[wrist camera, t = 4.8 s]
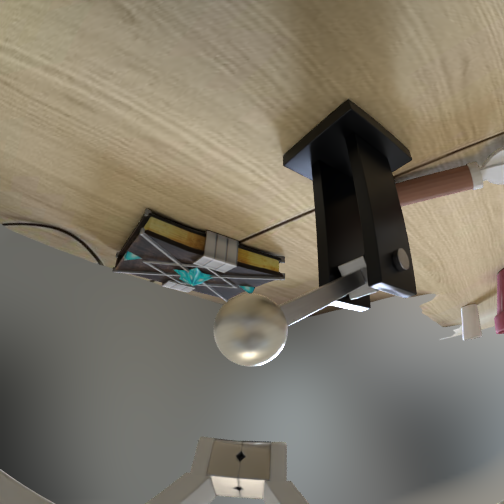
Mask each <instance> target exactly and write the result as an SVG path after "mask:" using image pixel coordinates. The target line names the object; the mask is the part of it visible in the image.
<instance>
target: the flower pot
mask: <svg viewBox="0 0 504 504" xmlns="http://www.w3.org/2000/svg"><path fill="white" fill-rule="evenodd" d="M497 281H498V284H497V315H496V316H495V318H494V320H495V328H496V333H497V334H503V333H504V269H503V270H501V271H500V272H499V273H498V275H497Z"/></svg>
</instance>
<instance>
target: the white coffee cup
mask: <svg viewBox="0 0 504 504" xmlns="http://www.w3.org/2000/svg"><path fill="white" fill-rule="evenodd" d="M461 316H462V332H463V341H464V340H470V339H475V338H478V337H481V336H482V333H481V326H480V319H479V313H478V308H477V304H470V305H467V306H464V307H462V308H461Z"/></svg>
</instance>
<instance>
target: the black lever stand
mask: <svg viewBox="0 0 504 504" xmlns="http://www.w3.org/2000/svg"><path fill="white" fill-rule="evenodd" d="M411 160H412V158H411V155H410V152H409V150H408V149H407V148H406V147H405V146H404V145H403V144H402V143H400V142H399V141H398V140H397V139H396V138H395V137H394V136H393V135H392V134H390V133H389V132H388V131H387V130H386V129H385V128H383V127H382V126H381V125H380V124H379V123H378V122H376V121H375V120H374V119H373V118H371V117H370V116H369V115H368V114H366V113H365V112H364V111H363V110H361V109H360V108H359V107H358V106H356V105H355V104H354V103H352V102H351V101H350V100H347V101H346V102H344V103H343V104H342V105H341V106H340V107H339V108H337V109H336V110H335V111H334V112H333V113H331V114H330V115H329V116H328V117H327V118H326V119H324V120H323V121H322V122H321V123H320V124H319V125H317V126H316V127H315V128H314V129H313V130H312V131H311V132H309V133H308V134H307V135H306V136H305V137H304V138H303V139H301V140H300V141H299V142H298V143H297V144H296V145H295V146H294V147H292V148H291V149H290V150H289V151H288V152H287V153H286V154H285V155H284V156H283V166H285V167H287V168H289V169H291V170H293V171H295V172H297V173H299V174H301V175H303V176H305V177H307V178H309V179H310V180H312V181H313V191H314V203H315V216H316V231H317V249H318V270H319V287H321V286H323V285H325V284H327V283H329V282H332V281H334V280H336V279H338V278H340V277H342V276H341V273H340V271H339V268H338V266H340V265H342V264H344V263H347V262H349V261H351V260H354V259H356V258H358V257H361V256H363V255H365V259H366V269H367V279H368V286H369V287H371V288H374V289H378V290H381V291H384V292H387V293H391V294H394V295H397V296H401V297H404V298H407V297H410V296H413V295H416V294H417V292H416V284H415V277H414V271H413V264H412V258H411V253H410V247H409V242H408V237H407V232H406V227H405V223H404V218H403V214H402V209H401V205H400V201H399V197H398V193H397V189H396V186H395V182H394V178H393V175H392V172H393V171H395V170H397V169H398V168H400V167H402V166H403V165H405V164H406V163H408V162H410V161H411ZM329 305H333V306H337V307H342V308H347V309H352V310H357V311H364V310H367V309H370V308H371V307H370V294H369V295H365V296H362V297H359V298H356V299H353V300H351V299H350V297H349V294H347V295H345V296H344V297H342V298H340V299H338V300H336V301H335V302H333V303H331V304H329Z"/></svg>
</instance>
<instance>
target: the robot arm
mask: <svg viewBox="0 0 504 504" xmlns="http://www.w3.org/2000/svg"><path fill="white" fill-rule="evenodd" d="M286 448H287V447H286V442H260V441H236V440H225V439H216V438H208V437H200V439H199V441H198V445H197V449H196V453H195V456H194V460H193V464H192V468H191V472H190V473H185V474H184V475H183V476H181V477H180V478H179V479H178V480H176V481H175V482H174V483H172V484H171V485H170V486H169V487H167V488H166V489H165V490H163V491H162V492H161V493H159V494H158V495H157V496H155V497H154V498H153V499H151V500H150V501H148V502H147V503H145V504H210V503H211V501H213V499H214V498H215V497H216V496H227V497H241V498H252V499H263V501H264V502H265V504H309V503H308V502H307V501H306V499H305V498H304V497H303V496H302V495H301V493H300V492H299V491H298V490H297V488H296V487H295V486H294V485H293V483H292V482H291V481H286V473H287V472H286V470H287V467H286V466H287V465H286V462H287V459H286V458H287V455H286V454H287V449H286ZM0 504H55V503H53V502H51V501H49V500H47V499H46V498H44V497H42V496H40V495H39V494H37V493H35V492H34V491H32V490H30V489H29V488H27V487H26V486H24V485H22V484H21V483H20V482H18V481H16V480H15V479H14V478H12V477H11V476H9V475H8V474H6V473H5V472H4V471H2V470H1V469H0ZM497 504H504V500H502V501H500V502H499V503H497Z"/></svg>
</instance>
